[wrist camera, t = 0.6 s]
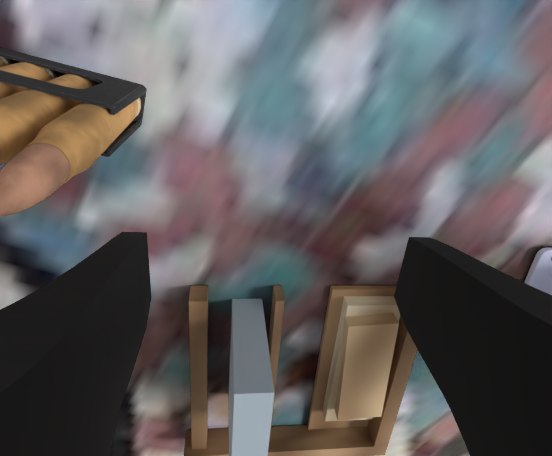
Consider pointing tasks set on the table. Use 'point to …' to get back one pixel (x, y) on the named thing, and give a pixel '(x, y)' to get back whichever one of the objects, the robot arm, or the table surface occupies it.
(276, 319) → the rack
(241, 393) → the block
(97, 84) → the ammunition clip
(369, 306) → the offcut birch
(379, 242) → the table surface
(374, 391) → the offcut oak
